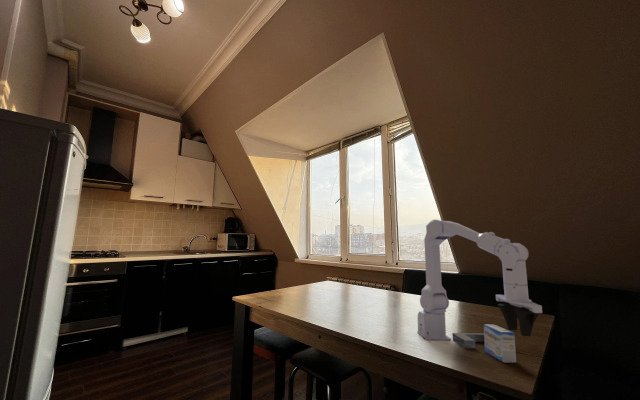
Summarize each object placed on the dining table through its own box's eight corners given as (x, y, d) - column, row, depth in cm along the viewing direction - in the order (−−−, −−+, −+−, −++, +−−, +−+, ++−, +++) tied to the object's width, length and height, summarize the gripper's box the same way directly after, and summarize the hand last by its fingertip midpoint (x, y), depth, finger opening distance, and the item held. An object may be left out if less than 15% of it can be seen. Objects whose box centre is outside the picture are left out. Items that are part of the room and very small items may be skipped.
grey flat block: (464, 348, 88) (464, 340, 89) (452, 340, 95) (452, 333, 96) (506, 348, 89) (506, 340, 89) (492, 340, 96) (491, 333, 97)
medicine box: (484, 351, 86) (482, 323, 87) (497, 351, 86) (495, 324, 88) (503, 363, 78) (500, 332, 80) (517, 362, 79) (514, 332, 80)
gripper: (550, 288, 71) (556, 342, 69) (509, 280, 85) (512, 325, 83) (525, 288, 70) (530, 342, 68) (488, 280, 85) (491, 324, 82)
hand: (519, 332), depth 75 cm, fingers open, 4 cm apart
